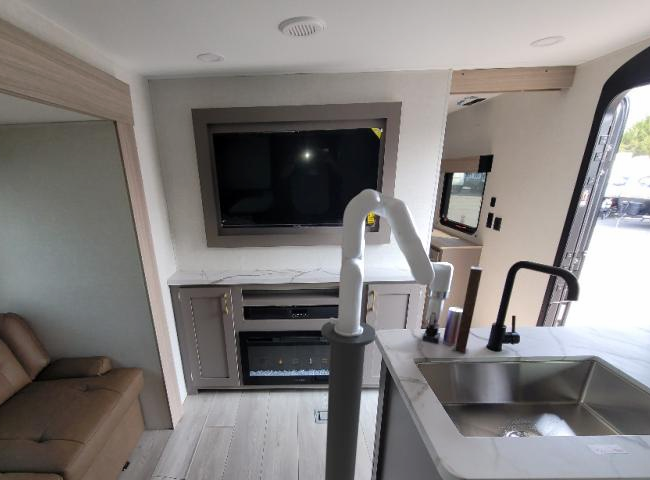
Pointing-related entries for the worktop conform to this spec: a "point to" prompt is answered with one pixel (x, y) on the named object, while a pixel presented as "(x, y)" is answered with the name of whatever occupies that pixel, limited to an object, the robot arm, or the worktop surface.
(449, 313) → the beverage can
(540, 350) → the worktop surface
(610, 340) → the worktop surface
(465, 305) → the walnut post
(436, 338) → the wide pad
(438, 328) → the small pad
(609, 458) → the worktop surface
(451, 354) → the worktop surface
